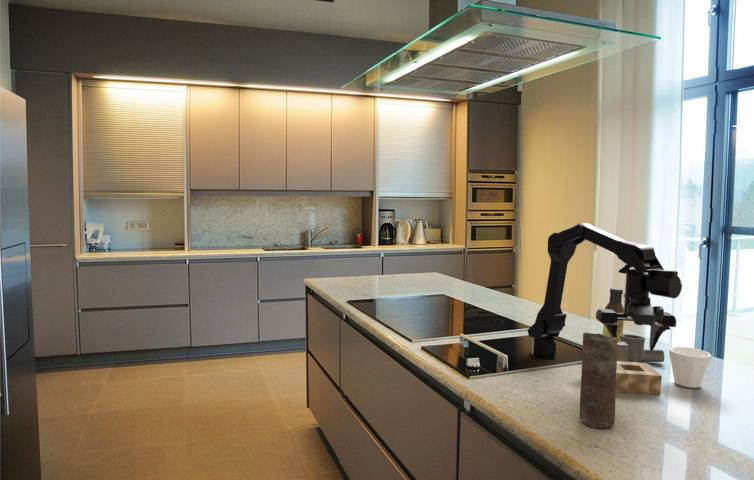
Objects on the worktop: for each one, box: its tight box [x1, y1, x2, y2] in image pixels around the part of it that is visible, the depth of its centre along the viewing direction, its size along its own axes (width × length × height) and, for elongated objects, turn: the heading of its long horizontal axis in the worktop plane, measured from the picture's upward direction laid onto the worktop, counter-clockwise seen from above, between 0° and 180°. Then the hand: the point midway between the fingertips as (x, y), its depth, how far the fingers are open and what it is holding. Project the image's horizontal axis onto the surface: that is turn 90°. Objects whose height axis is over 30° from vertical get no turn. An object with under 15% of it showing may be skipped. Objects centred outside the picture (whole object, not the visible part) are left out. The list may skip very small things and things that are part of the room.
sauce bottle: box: [602, 287, 625, 342], centre depth 185 cm, size 6×6×20 cm
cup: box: [668, 346, 712, 389], centre depth 147 cm, size 10×10×9 cm
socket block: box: [616, 361, 663, 396], centre depth 145 cm, size 11×11×5 cm
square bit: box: [617, 342, 629, 362], centre depth 159 cm, size 4×4×8 cm
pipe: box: [619, 333, 665, 363], centre depth 168 cm, size 6×13×8 cm, turn 78°
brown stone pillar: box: [579, 332, 618, 429], centre depth 120 cm, size 8×7×20 cm
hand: (633, 349), depth 145 cm, fingers open, 9 cm apart
